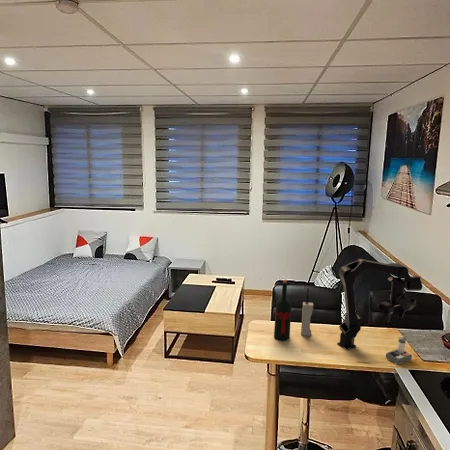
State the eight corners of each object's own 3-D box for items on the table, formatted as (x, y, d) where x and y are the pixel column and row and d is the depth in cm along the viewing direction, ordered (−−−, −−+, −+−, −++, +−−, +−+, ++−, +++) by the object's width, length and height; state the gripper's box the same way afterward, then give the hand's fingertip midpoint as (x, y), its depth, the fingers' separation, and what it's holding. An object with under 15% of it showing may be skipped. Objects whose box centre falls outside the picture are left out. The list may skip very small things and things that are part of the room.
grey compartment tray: (397, 364, 171) (398, 359, 171) (385, 357, 177) (386, 352, 176) (411, 359, 176) (412, 354, 175) (398, 353, 181) (399, 347, 181)
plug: (400, 358, 176) (403, 340, 174) (395, 355, 178) (397, 337, 177) (405, 357, 177) (407, 339, 176) (399, 354, 180) (401, 336, 178)
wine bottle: (274, 342, 188) (277, 284, 183) (273, 333, 198) (276, 277, 193) (290, 343, 188) (294, 285, 182) (288, 334, 198) (292, 278, 192)
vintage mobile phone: (311, 336, 196) (314, 289, 191) (301, 335, 197) (304, 289, 192) (310, 333, 199) (314, 287, 195) (301, 332, 200) (304, 286, 196)
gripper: (399, 298, 172) (395, 331, 175) (425, 292, 181) (421, 323, 184) (378, 291, 181) (375, 321, 184) (404, 285, 190) (401, 314, 193)
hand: (394, 320), depth 186 cm, fingers open, 9 cm apart
